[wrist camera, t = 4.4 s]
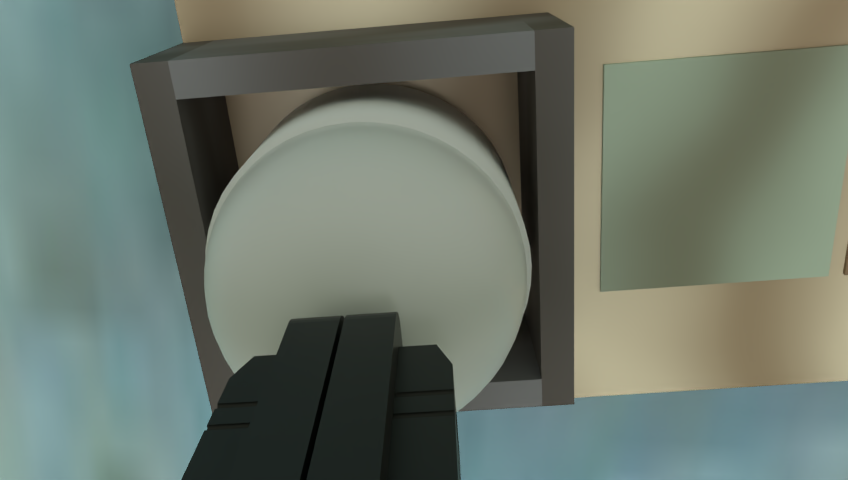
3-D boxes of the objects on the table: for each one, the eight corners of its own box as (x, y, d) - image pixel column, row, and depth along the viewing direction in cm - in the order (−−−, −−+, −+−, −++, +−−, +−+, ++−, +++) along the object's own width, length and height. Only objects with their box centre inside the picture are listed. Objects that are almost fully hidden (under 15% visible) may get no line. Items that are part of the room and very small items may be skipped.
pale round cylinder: (509, 72, 15) (556, 148, 9) (517, 326, 17) (560, 509, 11) (221, 95, 15) (99, 183, 9) (268, 343, 17) (193, 530, 12)
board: (1477, -171, 15) (1887, -217, 11) (1265, 321, 20) (1495, 425, 15) (185, -56, 16) (98, -56, 12) (271, 385, 21) (231, 499, 17)
